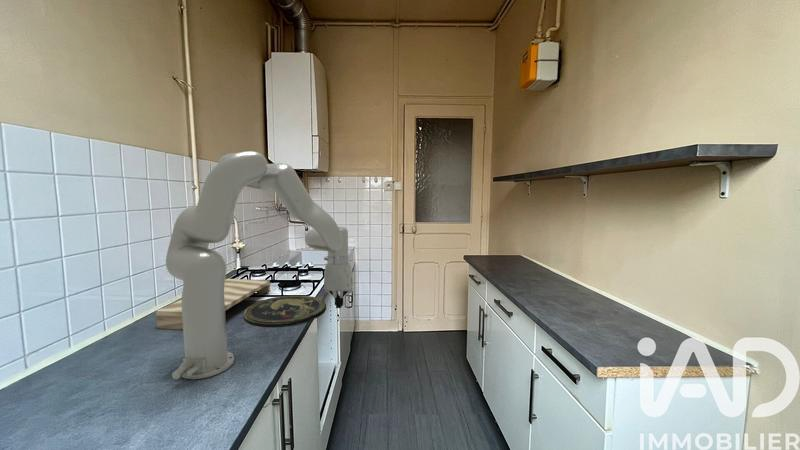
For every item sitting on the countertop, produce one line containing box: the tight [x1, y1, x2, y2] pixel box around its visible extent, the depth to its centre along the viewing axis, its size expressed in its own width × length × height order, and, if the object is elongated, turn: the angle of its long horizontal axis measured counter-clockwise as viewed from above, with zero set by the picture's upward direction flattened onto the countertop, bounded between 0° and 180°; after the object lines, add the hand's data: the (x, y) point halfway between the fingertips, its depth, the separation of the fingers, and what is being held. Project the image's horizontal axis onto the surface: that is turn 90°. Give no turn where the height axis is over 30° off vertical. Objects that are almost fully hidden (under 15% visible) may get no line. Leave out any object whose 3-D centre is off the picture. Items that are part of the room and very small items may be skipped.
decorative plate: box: [242, 294, 327, 328], centre depth 125 cm, size 30×2×30 cm
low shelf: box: [155, 278, 271, 330], centre depth 127 cm, size 39×20×6 cm, turn 175°
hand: (339, 306), depth 124 cm, fingers closed
